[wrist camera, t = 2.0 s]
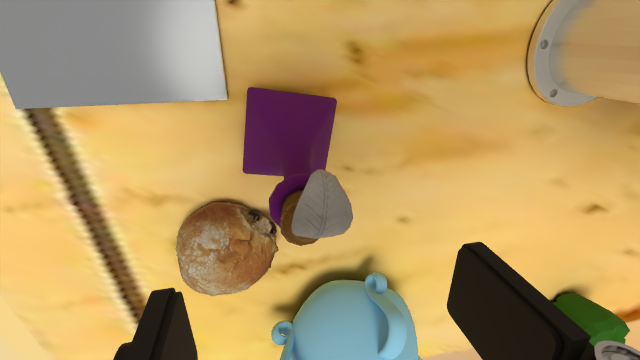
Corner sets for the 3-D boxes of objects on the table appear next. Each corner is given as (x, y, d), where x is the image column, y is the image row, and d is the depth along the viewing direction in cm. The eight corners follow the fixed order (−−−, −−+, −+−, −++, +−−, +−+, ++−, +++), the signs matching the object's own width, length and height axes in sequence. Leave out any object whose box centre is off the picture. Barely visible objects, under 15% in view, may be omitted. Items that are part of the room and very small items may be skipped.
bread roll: (192, 187, 34) (138, 228, 27) (278, 192, 32) (241, 238, 25) (212, 258, 39) (170, 308, 32) (289, 267, 36) (261, 324, 29)
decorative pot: (407, 327, 46) (463, 431, 34) (306, 369, 45) (326, 491, 33) (382, 246, 38) (441, 341, 26) (261, 295, 38) (265, 416, 26)
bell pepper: (536, 296, 48) (600, 354, 40) (583, 278, 49) (657, 332, 40) (534, 330, 52) (591, 390, 43) (577, 313, 53) (643, 369, 44)
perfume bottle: (317, 165, 32) (380, 292, 16) (243, 160, 30) (231, 296, 14) (329, 92, 29) (420, 158, 13) (248, 81, 28) (239, 142, 11)
